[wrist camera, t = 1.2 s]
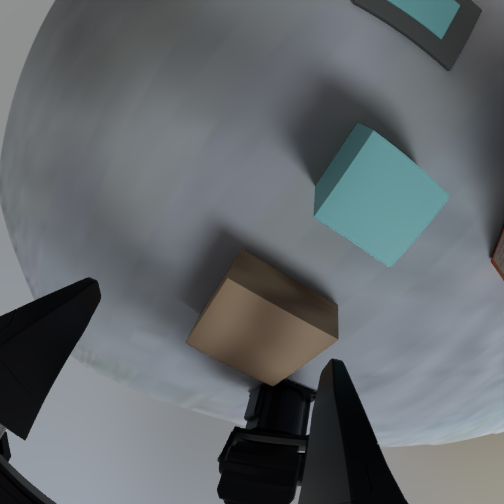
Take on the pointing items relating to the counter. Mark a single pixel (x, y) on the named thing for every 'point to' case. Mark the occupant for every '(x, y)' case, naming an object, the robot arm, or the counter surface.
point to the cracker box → (499, 256)
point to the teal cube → (376, 196)
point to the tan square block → (264, 321)
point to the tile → (429, 23)
